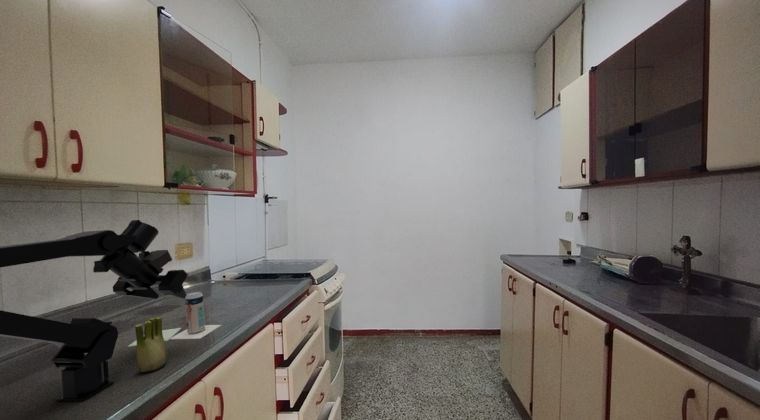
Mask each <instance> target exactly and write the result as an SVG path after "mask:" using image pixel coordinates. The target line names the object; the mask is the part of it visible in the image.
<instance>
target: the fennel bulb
mask: <svg viewBox="0 0 760 420" xmlns="http://www.w3.org/2000/svg"><path fill="white" fill-rule="evenodd" d="M143 325H144V327H143ZM134 328H135V329H134V330H135V334H136V335H135V336H136V340H137V346H136V363H137V367H138V369H139V371H140V372H141V373H147V372H152V371H156V370H158V369H160V368H162V367H164V366H165V364H166V359H167V346H166V341H164V338H163V334H162V330H163V317H161V316H160V317H159V316H158V317H153V318H149V319H148V320H147V321H145V322H144V324H141V323H140V324H136V325H134ZM143 328H144V329H143Z"/></svg>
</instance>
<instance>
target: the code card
mask: <svg viewBox="0 0 760 420" xmlns="http://www.w3.org/2000/svg"><path fill="white" fill-rule="evenodd" d="M221 326H222V324H205V329H204V330H203V331H201V332H199V333H195V334H190V333H188V332H187V328H186V329H185V330H183V331H181V332H179V333H176V334H175V335H174V336H173V337H172V338H170V339H169V340H173V341H174V340H200V339H203V338H204V337H205V336H207V335H208V334H210V333H212V332H213V331H215V330H217V329H218V328H220V327H221ZM169 340H168V341H169Z"/></svg>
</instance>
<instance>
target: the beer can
mask: <svg viewBox="0 0 760 420" xmlns="http://www.w3.org/2000/svg"><path fill="white" fill-rule="evenodd" d="M184 301H185V316H186V317H185V318H186V319H185V320H186V329H187V332H188V333H190V334H195V333H199V332H201V331H203V330H204V329H205V325H206V321H205V320H206V319H205V307H204V294H203V293H202V291H194V292H193V291H192V292H190V293H186V297H185V299H184Z"/></svg>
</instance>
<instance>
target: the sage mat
mask: <svg viewBox="0 0 760 420" xmlns="http://www.w3.org/2000/svg"><path fill="white" fill-rule="evenodd" d="M181 329H182V327H176V328H170V329H162V334H163V338H164V341H165V342H169V339H170V338H172V337H173V336H175V335H177V334H178V332H179V331H181ZM127 347H128V348H131V347H137V339H135V340H134V341H133V342H132V343H130V344H129V345H128V346H127Z"/></svg>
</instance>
